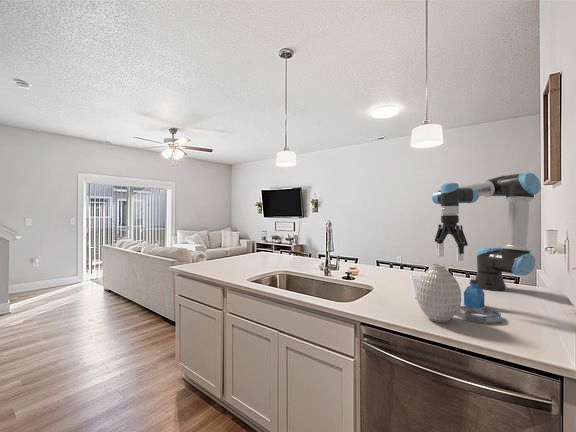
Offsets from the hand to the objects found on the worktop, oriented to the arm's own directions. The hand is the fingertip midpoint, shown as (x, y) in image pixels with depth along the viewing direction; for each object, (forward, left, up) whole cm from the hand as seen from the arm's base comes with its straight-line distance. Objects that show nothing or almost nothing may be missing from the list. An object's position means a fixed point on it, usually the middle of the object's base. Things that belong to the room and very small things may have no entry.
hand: (450, 258), depth 136 cm
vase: (+21, +19, -22) cm, 36 cm away
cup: (+11, -8, -22) cm, 25 cm away
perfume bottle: (-7, +6, -22) cm, 24 cm away
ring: (+3, +19, -21) cm, 29 cm away
